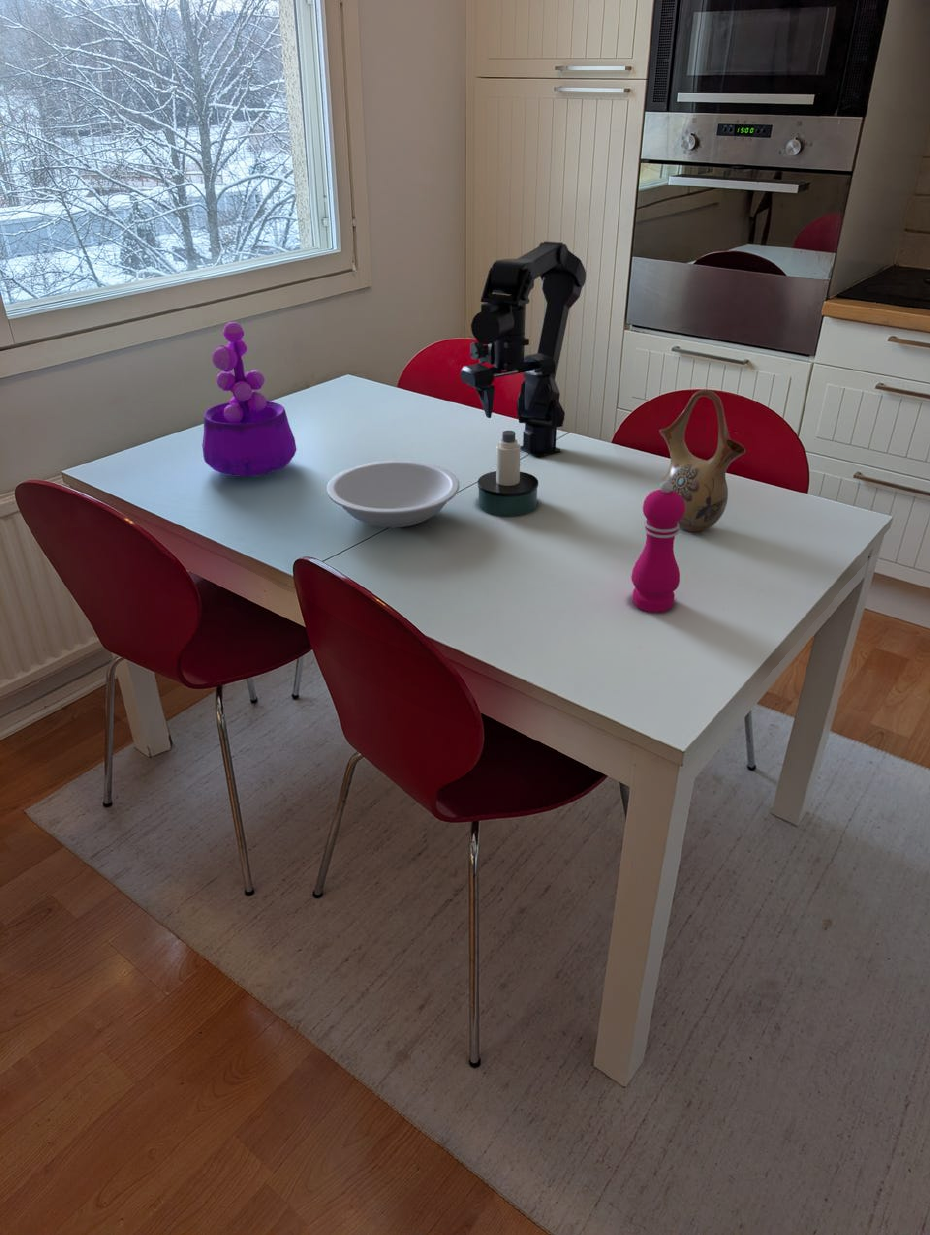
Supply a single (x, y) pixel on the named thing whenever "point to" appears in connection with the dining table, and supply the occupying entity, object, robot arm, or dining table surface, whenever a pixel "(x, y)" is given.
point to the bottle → (508, 460)
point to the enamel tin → (507, 495)
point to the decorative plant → (244, 418)
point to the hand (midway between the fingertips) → (508, 413)
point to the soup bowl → (393, 492)
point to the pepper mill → (658, 551)
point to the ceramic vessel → (700, 469)
